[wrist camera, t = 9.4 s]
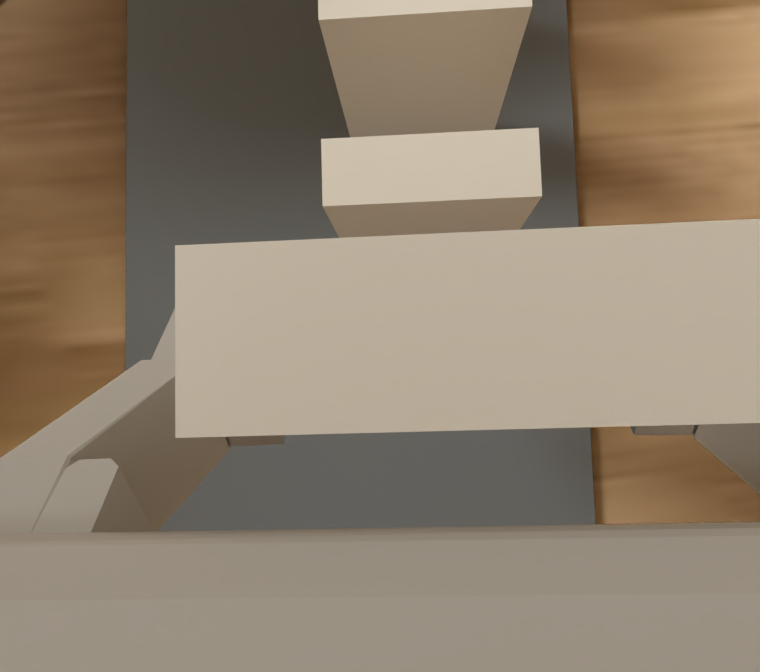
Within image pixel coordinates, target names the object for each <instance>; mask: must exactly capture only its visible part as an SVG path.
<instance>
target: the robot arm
mask: <svg viewBox="0 0 760 672" xmlns="http://www.w3.org/2000/svg"><path fill="white" fill-rule="evenodd" d="M631 428H632V431H633V434H634V435H694V439H695V440H697V441H698V442H699V443H700V444H701V445H702V446H704V447H705V448H706V449H707V450H708V451H709V452H710V453H712V454H713V455H714V456H715V457H716V458H717V459H719V460H720V461H721V462H722V463H723V464H724V465H725V466H727V467H728V468H729V469H730V470H731V471H732V472H734V473H735V474H736V475H737V476H738V477H739V478H740V479H742V480H743V481H744V482H745V483H746V484H747V485H749V486H750V487H751V488H752V489H753V490H754V491H755V492H757V493H758V494H759V495H760V423H738V424H699V425H660V426H631ZM285 438H286V435H269V436H230V437H191V438H175V309H174V311H173V313H172V315H171V317H170V320H169V322H168V324H167V326H166V328H165V330H164V333H163V335H162V337H161V339H160V341H159V343H158V346H157V348H156V350H155V352H154V354H153V356H152V359H151V360H141V361H139V362H138V363H137V364H135V365H134V366H132V367H131V368H129V369H128V370H126V371H125V372H124V373H122V374H121V375H119V376H118V377H116V378H115V379H113V380H112V381H111V382H109V383H108V384H106V385H105V386H103V387H102V388H100V389H99V390H98V391H96V392H95V393H93V394H92V395H90V396H89V397H87V398H86V399H85V400H83V401H82V402H80V403H79V404H77V405H76V406H74V407H73V408H72V409H70V410H69V411H67V412H66V413H64V414H63V415H61V416H60V417H59V418H57V419H56V420H54V421H53V422H51V423H50V424H49V425H47V426H46V427H44V428H43V429H41V430H40V431H38V432H37V433H36V434H34V435H33V436H31V437H30V438H28V439H27V440H25V441H24V442H23V443H21V444H20V445H18V446H17V447H15V448H14V449H12V450H11V451H10V452H8V453H7V454H5V455H4V456H2V457H1V458H0V672H760V522H706V523H643V524H580V525H519V526H457V527H396V528H335V529H273V530H212V531H158V530H159V529H160V528H161V527H162V525H163V524H164V523H165V522H166V521H167V520H168V519H169V518H170V516H171V515H172V514H173V513H174V512H175V511H176V510H177V509H178V507H179V506H180V505H181V504H182V503H183V502H184V501H185V500H186V498H187V497H188V496H189V495H190V494H191V493H192V492H193V491H194V489H195V488H196V487H197V486H198V485H199V484H200V483H201V482H202V480H203V479H204V478H205V477H206V476H207V475H208V474H209V473H210V471H211V470H212V469H213V468H214V467H215V466H216V465H217V464H218V462H219V461H220V460H221V459H222V458H223V457H224V456H225V455H226V454H227V452H228V451H229V450H230V448H229V447H233V446H253V445H272V444H284V443H285Z"/></svg>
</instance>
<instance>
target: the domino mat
mask: <svg viewBox="0 0 760 672" xmlns="http://www.w3.org/2000/svg"><path fill="white" fill-rule="evenodd" d="M521 128H539V145H540V164H541V184H542V197H541V199H540V200H539V202H538V203H537V205H536V206H535V208H534V209H533V211H532V212H531V214H530V215H529V217H528V218H527V220H526V221H525V223H524V224H523V226H522V227H521V229H520V230H524V229H546V228H568V227H579V219H578V201H577V183H576V166H575V148H574V130H573V112H572V94H571V76H570V58H569V41H568V23H567V5H566V0H532V9H531V13H530V16H529V19H528V22H527V26H526V29H525V32H524V35H523V39H522V42H521V45H520V49H519V52H518V55H517V58H516V62H515V65H514V68H513V71H512V75H511V78H510V81H509V84H508V88H507V91H506V94H505V98H504V101H503V104H502V107H501V111H500V114H499V117H498V120H497V124H496V127H495V130H502V129H521ZM349 137H350V135H349V131H348V128H347V124H346V120H345V116H344V113H343V109H342V105H341V102H340V98H339V94H338V91H337V87H336V83H335V79H334V76H333V72H332V68H331V65H330V61H329V57H328V53H327V50H326V46H325V42H324V39H323V35H322V31H321V28H320V24H319V20H318V0H127V136H126V369H125V371H126V370H128V369H129V368H131V367H132V366H134V365H135V364H137V363H138V362H139V361H141V360H151V359H152V356H153V354H154V352H155V350H156V348H157V346H158V343H159V341H160V339H161V337H162V335H163V333H164V330H165V328H166V326H167V324H168V322H169V320H170V317H171V315H172V313H173V311H174V309H175V245H195V244H217V243H239V242H261V241H282V240H304V239H326V238H339V236H338V235H337V233H336V231H335V229H334V227H333V225H332V223H331V221H330V219H329V218H328V216H327V214H326V212H325V210H324V208H323V204H322V158H321V139H330V138H349ZM229 448H230V450H229V451H228V452H227V454H226V455H225V456H224V457H223V458H222V459H221V460H220V461H219V462H218V464H217V465H216V466H215V467H214V468H213V469H212V470H211V471H210V473H209V474H208V475H207V476H206V477H205V478H204V479H203V480H202V482H201V483H200V484H199V485H198V486H197V487H196V488H195V489H194V491H193V492H192V493H191V494H190V495H189V496H188V497H187V498H186V500H185V501H184V502H183V503H182V504H181V505H180V506H179V507H178V509H177V510H176V511H175V512H174V513H173V514H172V515H171V516H170V518H169V519H168V520H167V521H166V522H165V523H164V524H163V525H162V527H161V528H160V529H159V530H158V531H212V530H273V529H335V528H396V527H457V526H519V525H580V524H596V523H595V505H594V487H593V469H592V451H591V433H590V427H582V428H542V429H503V430H464V431H425V432H386V433H347V434H308V435H286V438H285V443H284V444H272V445H253V446H233V447H229Z"/></svg>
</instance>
